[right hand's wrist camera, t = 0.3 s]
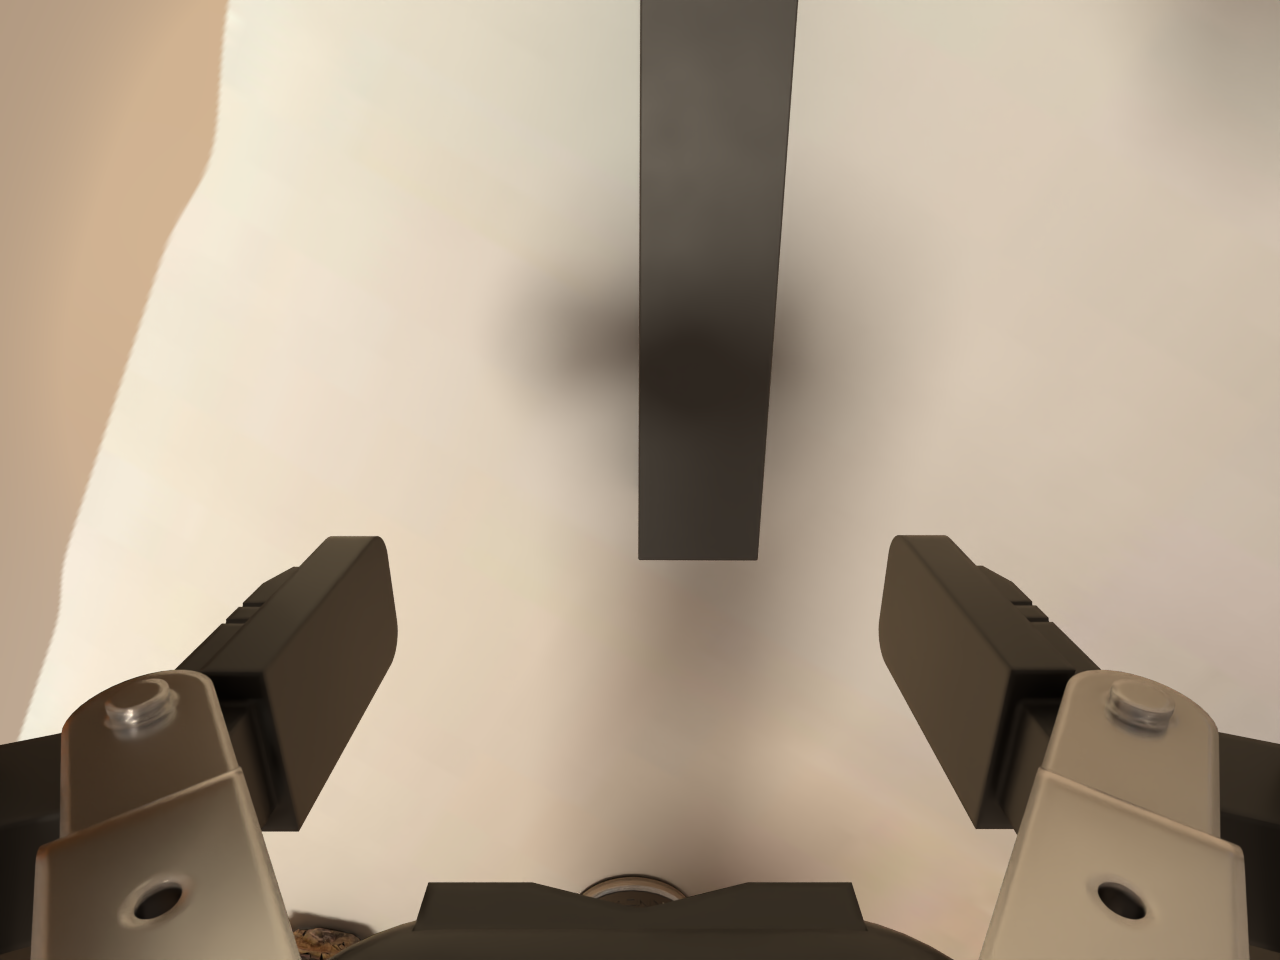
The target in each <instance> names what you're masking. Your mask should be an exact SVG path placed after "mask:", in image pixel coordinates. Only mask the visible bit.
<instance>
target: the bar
mask: <svg viewBox="0 0 1280 960" xmlns="http://www.w3.org/2000/svg"><path fill="white" fill-rule="evenodd" d="M797 9H798V0H640V246H639V527H638V559H639V560H757V559H758V546H759V532H760V518H761V505H762V491H763V477H764V463H765V450H766V436H767V422H768V408H769V394H770V381H771V367H772V353H773V339H774V326H775V312H776V298H777V284H778V271H779V257H780V243H781V229H782V216H783V202H784V188H785V174H786V160H787V147H788V133H789V119H790V105H791V92H792V78H793V64H794V50H795V37H796V23H797Z"/></svg>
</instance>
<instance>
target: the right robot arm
mask: <svg viewBox="0 0 1280 960" xmlns="http://www.w3.org/2000/svg"><path fill="white" fill-rule="evenodd" d="M1048 619H1049V618H1048V617H1047V616H1046V615H1045V614H1044V613H1043V612H1042V611H1041V610H1040V609H1039V608H1038V607H1037V606H1033V605H1032V601H1031V600H1030V599H1029V598H1028V597H1027V596H1026V595H1025V594H1024V593H1023V592H1022V591H1021V590H1020V589H1019V588H1018V587H1017V586H1016V585H1015V584H1014V583H1013V582H1011V581H1009V580H1007V579H1006V578H1004V577H1002V576H1000V575H998V574H997V573H995V572H993V571H991V570H989V569H987V568H986V567H984V566H976V565H975V564H974V563H973V562H972V561H971V560H970V559H969V558H968V557H967V556H966V555H965V553H964V552H963V551H962V550H961V549H960V548H959V547H958V546H957V545H956V544H955V543H954V542H953V541H952V540H951V539H950V538H949V537H948V536H945V535H897V536H895V537H894V539H893V540H892V542H891V545H890V549H889V554H888V562H887V569H886V576H885V583H884V590H883V597H882V605H881V612H880V619H879V642H880V648H881V653H882V656H883V659H884V662H885V664H886V666H887V667H888V669H889V671H890V673H891V675H892V676H893V678H894V680H895V682H896V684H897V686H898V687H899V689H900V691H901V693H902V695H903V697H904V698H905V700H906V702H907V704H908V706H909V708H910V709H911V711H912V713H913V715H914V717H915V719H916V720H917V722H918V724H919V726H920V728H921V730H922V731H923V733H924V735H925V737H926V739H927V741H928V742H929V744H930V746H931V748H932V750H933V752H934V753H935V755H936V757H937V759H938V761H939V763H940V764H941V766H942V768H943V770H944V772H945V774H946V775H947V777H948V779H949V781H950V783H951V785H952V786H953V788H954V790H955V792H956V794H957V796H958V797H959V799H960V801H961V803H962V805H963V806H964V808H965V810H966V812H967V814H968V816H969V817H970V819H971V821H972V823H973V825H974V827H975V828H976V829H1014V830H1015V832H1016V834H1017V838H1016V841H1015V844H1014V848H1013V851H1012V854H1011V857H1010V861H1009V864H1008V867H1007V870H1006V873H1005V877H1004V880H1003V883H1002V886H1001V889H1000V893H999V896H998V899H997V902H996V905H995V909H994V912H993V915H992V918H991V922H990V925H989V928H988V931H987V934H986V938H985V941H984V944H983V947H982V950H981V954H980V957H979V960H1280V744H1277V743H1271V742H1266V741H1261V740H1256V739H1251V738H1246V737H1241V736H1236V735H1231V734H1226V733H1220V732H1218V728H1217V726H1216V724H1215V722H1214V721H1213V719H1212V718H1211V717H1210V716H1209V715H1208V713H1207V712H1206V711H1204V710H1203V709H1202V708H1201V707H1200V706H1199V705H1198V704H1196V703H1195V702H1193V701H1192V700H1191V699H1189V698H1188V697H1186V696H1184V695H1183V694H1181V693H1179V692H1177V691H1176V690H1174V689H1172V688H1170V687H1168V686H1165V685H1163V684H1161V683H1158V682H1156V681H1153V680H1150V679H1147V678H1144V677H1141V676H1137V675H1134V674H1130V673H1125V672H1120V671H1111V670H1101V669H1100V668H1099V667H1098V666H1097V665H1096V664H1095V663H1094V662H1093V661H1092V660H1091V659H1090V658H1089V657H1088V656H1087V655H1086V654H1085V653H1084V652H1083V651H1082V650H1081V649H1080V648H1079V647H1078V646H1077V645H1076V644H1075V643H1074V642H1073V641H1071V640H1070V639H1069V638H1068V637H1067V636H1066V635H1065V634H1064V633H1063V632H1062V631H1061V630H1060V629H1059V628H1058V627H1057V626H1056V625H1055V624H1054V623H1053V622H1049V620H1048ZM397 636H398V627H397V618H396V611H395V604H394V597H393V590H392V582H391V575H390V568H389V561H388V554H387V549H386V546H385V543H384V541H383V540H382V538H381V537H379V536H330V537H328V538H327V539H326V540H325V541H324V542H323V543H322V544H321V545H320V546H319V547H318V548H317V549H316V550H315V551H314V552H313V553H312V554H311V555H310V556H309V557H308V558H307V559H306V560H305V561H304V562H303V563H302V564H301V565H300V567H292V568H290V569H289V570H287V571H285V572H283V573H281V574H279V575H277V576H276V577H274V578H272V579H270V580H268V581H266V582H265V583H263V584H262V585H261V586H260V587H259V588H258V589H257V590H256V591H255V592H254V593H253V594H252V595H251V596H250V597H248V598H247V599H246V600H245V601H244V602H243V607H238V608H237V609H236V610H235V611H234V612H233V613H232V614H231V615H230V616H229V617H228V618H227V619H226V624H221V625H220V626H219V627H218V628H217V629H216V630H215V631H214V632H213V633H212V634H211V635H210V636H209V637H208V638H207V639H206V640H205V641H204V642H203V643H202V644H200V645H199V646H198V647H197V648H196V649H195V650H194V651H193V652H192V653H191V654H190V655H189V656H188V657H187V658H186V659H185V660H184V661H183V662H182V663H181V664H180V665H179V666H178V667H177V668H176V669H175V670H169V671H160V672H155V673H150V674H146V675H143V676H139V677H136V678H133V679H130V680H127V681H124V682H122V683H119V684H117V685H115V686H112V687H110V688H108V689H106V690H104V691H103V692H101V693H99V694H97V695H96V696H94V697H92V698H91V699H89V700H88V701H87V702H85V703H84V704H82V705H81V706H80V707H79V708H78V709H77V710H76V711H74V712H73V713H72V715H71V716H70V717H69V718H68V719H67V721H66V722H65V724H64V726H63V728H62V733H59V734H54V735H49V736H44V737H39V738H34V739H29V740H24V741H19V742H14V743H9V744H4V745H0V960H301V957H300V954H299V950H298V947H297V944H296V941H295V938H294V934H293V931H292V928H291V925H290V922H289V918H288V915H287V912H286V909H285V905H284V902H283V899H282V896H281V893H280V889H279V886H278V883H277V880H276V877H275V873H274V870H273V867H272V864H271V861H270V857H269V854H268V851H267V848H266V844H265V841H264V838H263V835H262V832H261V831H299V830H300V828H301V826H302V825H303V823H304V821H305V819H306V817H307V816H308V814H309V812H310V810H311V808H312V807H313V805H314V803H315V801H316V799H317V798H318V796H319V794H320V792H321V790H322V788H323V787H324V785H325V783H326V781H327V779H328V778H329V776H330V774H331V772H332V770H333V769H334V767H335V765H336V763H337V761H338V760H339V758H340V756H341V754H342V752H343V750H344V749H345V747H346V745H347V743H348V741H349V740H350V738H351V736H352V734H353V732H354V731H355V729H356V727H357V725H358V723H359V722H360V720H361V718H362V716H363V714H364V712H365V711H366V709H367V707H368V705H369V703H370V702H371V700H372V698H373V696H374V694H375V693H376V691H377V689H378V687H379V685H380V684H381V682H382V680H383V678H384V676H385V675H386V673H387V671H388V669H389V667H390V665H391V663H392V661H393V658H394V655H395V651H396V646H397ZM327 960H953V959H951V958H950V957H948V956H946V955H945V954H943V953H941V952H940V951H938V950H936V949H934V948H933V947H931V946H929V945H927V944H925V943H923V942H920V941H918V940H916V939H914V938H912V937H910V936H908V935H906V934H903V933H901V932H898V931H895V930H892V929H889V928H887V927H884V926H881V925H878V924H875V923H871V922H867V921H864V920H863V917H862V914H861V911H860V908H859V904H858V901H857V898H856V895H855V892H854V889H853V886H852V882H748V883H744V884H740V885H736V886H731V887H727V888H723V889H719V890H715V891H711V892H707V893H703V894H699V895H695V896H691V897H687V898H686V896H685V895H683V894H682V893H681V892H680V891H678V890H677V889H675V888H674V887H672V886H670V885H668V884H666V883H663V882H660V881H657V880H653V879H649V878H641V877H624V878H617V879H612V880H608V881H605V882H602V883H600V884H597V885H595V886H594V887H592V888H590V889H589V890H587V891H586V892H584V893H583V894H582V895H581V894H577V893H573V892H569V891H565V890H561V889H557V888H553V887H549V886H544V885H540V884H536V883H532V882H428V886H427V889H426V892H425V895H424V898H423V901H422V904H421V908H420V911H419V914H418V917H417V920H416V921H413V922H409V923H405V924H402V925H399V926H396V927H393V928H391V929H388V930H385V931H382V932H379V933H377V934H374V935H372V936H370V937H368V938H366V939H364V940H362V941H360V942H357V943H355V944H353V945H351V946H349V947H347V948H346V949H344V950H342V951H340V952H339V953H337V954H335V955H334V956H332V957H330V958H329V959H327Z"/></svg>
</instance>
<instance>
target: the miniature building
mask: <svg viewBox="0 0 1280 960" xmlns="http://www.w3.org/2000/svg"><path fill="white" fill-rule="evenodd" d="M305 931H306V934H305V935H304V936H303V935H302V933H304V932H305ZM293 934H294V938H295V941H296V944H297V947H298V950H299V954H302V953H306V952H309V954H310V953H311V954H312V956H311V958H310V955H311V954H310V955H300V957H301V956H303V957H301V960H311V959H318V960H320V956H321V954H322V956H323V960H327V959H329V958H330V957H332V956H334V955H335V954H337V953H339V952H340V951H342V950H344V949H346V948H347V947H349V946H351V945H353V944H355V943H357V942H358V940H359V942H360V941H361V940H360V939H359V938H357V937H356V936H354V935H353V934H349V933H344V932H339V931H334V930H329V929H324V928H315V929H309V930H300V929H297V930H296V931H294V932H293ZM301 936H303V938H302V937H301ZM301 938H302V939H301ZM323 941H324V943H323ZM343 942H344V944H345V947H344V946H343V945H342V943H343ZM338 944H341V945H340V946H339V947H340V948H341V949H342V950H340V948H339V947H338V946H337V945H338ZM332 945H333V946H332ZM346 946H347V947H346ZM335 948H337V949H335ZM326 953H328V954H326ZM329 954H330V955H331V956H330V955H329ZM304 957H305V958H304Z"/></svg>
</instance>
